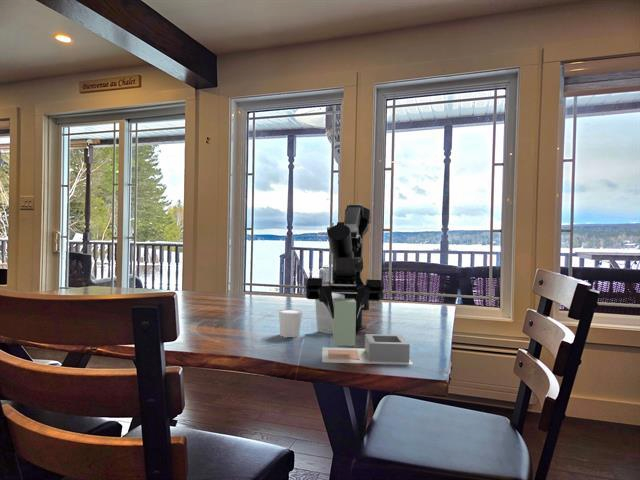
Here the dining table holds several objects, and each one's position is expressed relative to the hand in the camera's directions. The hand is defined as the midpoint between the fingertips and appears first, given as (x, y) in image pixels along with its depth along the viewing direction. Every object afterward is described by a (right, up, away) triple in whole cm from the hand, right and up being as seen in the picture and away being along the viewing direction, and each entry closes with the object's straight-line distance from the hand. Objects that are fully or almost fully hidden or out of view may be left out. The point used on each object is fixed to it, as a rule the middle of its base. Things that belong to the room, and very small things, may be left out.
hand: (344, 317), depth 91 cm
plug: (0, -6, +1) cm, 6 cm away
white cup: (-15, -10, +24) cm, 29 cm away
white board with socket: (+5, -10, +1) cm, 11 cm away
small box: (-2, -10, +30) cm, 32 cm away
